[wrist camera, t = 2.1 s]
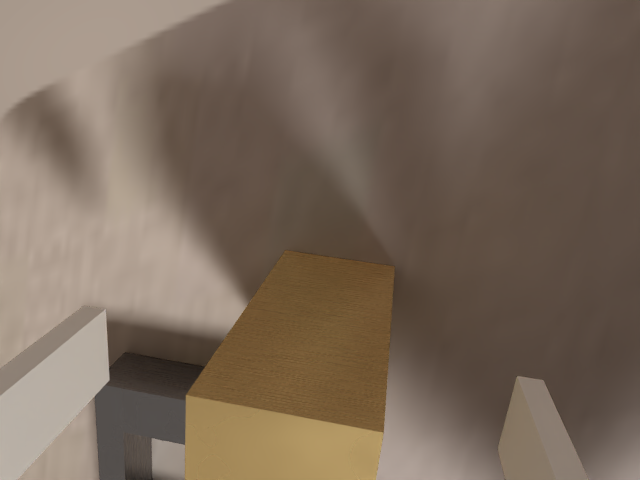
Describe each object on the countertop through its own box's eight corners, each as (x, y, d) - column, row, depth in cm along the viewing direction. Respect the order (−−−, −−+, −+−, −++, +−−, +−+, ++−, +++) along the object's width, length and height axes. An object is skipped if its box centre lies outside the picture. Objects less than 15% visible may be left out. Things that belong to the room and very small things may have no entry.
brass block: (394, 266, 20) (383, 432, 11) (379, 363, 22) (358, 582, 12) (285, 250, 21) (186, 395, 12) (277, 345, 22) (184, 542, 13)
